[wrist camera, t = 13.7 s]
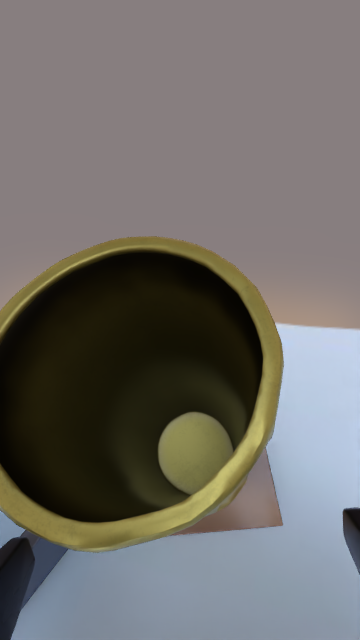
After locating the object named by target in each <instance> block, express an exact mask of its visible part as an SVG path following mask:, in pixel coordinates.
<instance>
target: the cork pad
mask: <svg viewBox="0 0 360 640" xmlns="http://www.w3.org/2000/svg"><path fill="white" fill-rule="evenodd" d="M282 525H283V523H282V519H281V514H280V510H279V505H278V501H277V496H276V492H275V487H274V483H273V478H272V474H271V470H270V465H269V461H268V456H267V452H266V447H265V449H264V451H263V452H262V454H261V456H260V457H259V459H258V460H257V462H256V464H255V465H254V467H253V469H252V470H251V471H250V473H249V474H248V477H247V481H246V483H245V485H244V486H243V488H242V489H241V491H240V492H239V493H238V495H237V496H236V498H235V499H234V500H233V501H232V502H231V503H230V504H229V505H228V506H226V507H225V508H223V509H221V510H219V511H217V512H216V513H213V514H210V515H208V516H205V517H204V518H202V519H201V520H200V521H198V522H197V523H196V524H194V525H192V526H190V527H188V528H185V529H183V530H181V531H178V532H176V533H174V534H171V535H169V536H172V535H183V534H194V533H206V532H217V531H228V530H239V529H251V528H262V527H273V526H282Z"/></svg>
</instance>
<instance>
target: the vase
mask: <svg viewBox="0 0 360 640" xmlns="http://www.w3.org/2000/svg"><path fill="white" fill-rule="evenodd" d="M283 367H284V361H283V351H282V343H281V340H280V337H279V334H278V331H277V328H276V326H275V323H274V321H273V319H272V316H271V314H270V312H269V310H268V307H267V305H266V303H265V301H264V300H263V298H262V296H261V294H260V292H259V291H258V289H257V288H256V286H255V285H253V283H252V282H251V281H250V280H249V279H248V278H247V277H246V276H244V274H242V273H241V272H240V271H239V269H238V268H236V266H235V265H233V264H231V263H230V262H228V261H227V260H225V259H224V258H222V257H220V256H219V255H217V254H216V253H214V252H212V251H210V250H208V249H206V248H203V247H201V246H199V245H197V244H193V243H189V242H186V241H183V240H177V239H172V238H165V237H156V236H151V237H127V238H120V239H115V240H111V241H108V242H104V243H101V244H98V245H96V246H93V247H90V248H87V249H85V250H83V251H80V252H78V253H76V254H73V255H71V256H69V257H67V258H65V259H63V260H61V261H59V262H58V263H56V264H55V265H53V266H51V267H50V268H49V269H47V270H46V271H45V272H43V273H41V274H40V275H39V276H37V277H36V278H35V279H34V280H32V281H31V282H30V283H29V284H27V285H26V286H25V287H24V288H22V289H21V290H20V291H19V292H18V293H17V294H16V295H15V296H14V297H12V299H11V300H10V301H9V302H8V303H7V304H6V305H5V306H4V307H3V308H2V310H1V311H0V510H1V511H2V512H3V513H4V514H5V515H6V516H7V517H9V518H10V519H11V520H12V521H13V522H14V523H15V524H16V525H18V526H20V527H22V528H24V529H26V530H28V531H29V532H31V533H33V534H35V535H37V536H39V537H41V538H43V539H45V540H47V541H49V542H51V543H53V544H56V545H59V546H62V547H65V548H69V549H72V550H75V551H83V552H92V553H99V552H107V551H114V550H118V549H121V548H125V547H129V546H133V545H137V544H141V543H144V542H148V541H152V540H156V539H160V538H163V537H167V536H169V535H171V534H174V533H176V532H178V531H181V530H183V529H185V528H188V527H190V526H192V525H194V524H196V523H197V522H198V521H200V520H201V519H202V518H204V517H205V516H208V515H210V514H213V513H216V512H217V511H219V510H221V509H223V508H225V507H226V506H228V505H229V504H230V503H231V502H232V501H233V500H234V499H235V498H236V496H237V495H238V493H239V492H240V491H241V489H242V488H243V486H244V485H245V483H246V481H247V477H248V474H249V473H250V471H251V470H252V469H253V467H254V465H255V464H256V462H257V460H258V459H259V457H260V456H261V454H262V452H263V451H264V449H265V447H266V445H267V443H268V442H269V440H270V439H271V438H272V435H273V431H274V426H275V420H276V414H277V408H278V401H279V395H280V389H281V383H282V374H283Z"/></svg>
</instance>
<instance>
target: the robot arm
mask: <svg viewBox="0 0 360 640" xmlns="http://www.w3.org/2000/svg"><path fill="white" fill-rule="evenodd" d="M343 532H344V537H345V541H346V544H347V546H348V548H349V551H350V553H351V555H352V558H353V560H354V563H355V565H356V567H357V570H358V572H359V574H360V508H345V509H344V510H343ZM34 566H35V556H34V553H33V550H32V547H31V544H30V541H29V539H28V538H27V537H15V538H12V539H11V540H10V541H8V542H7V543H6V544H5V545H4V546H3V547H2V548H1V549H0V640H10V639H11V636H12V633H13V631H14V628H15V625H16V622H17V619H18V616H19V613H20V610H21V607H22V604H23V600H24V597H25V594H26V591H27V588H28V585H29V582H30V579H31V576H32V573H33V570H34Z"/></svg>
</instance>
